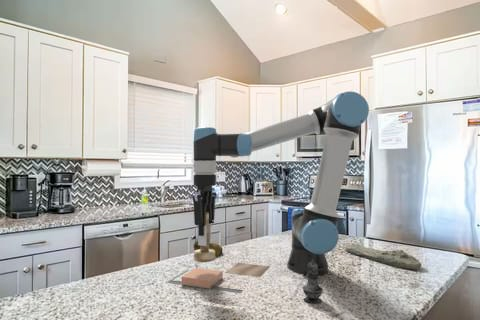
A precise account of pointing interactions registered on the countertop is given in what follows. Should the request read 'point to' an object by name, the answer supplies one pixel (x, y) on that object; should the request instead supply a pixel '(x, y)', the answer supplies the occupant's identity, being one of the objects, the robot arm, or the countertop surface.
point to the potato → (212, 246)
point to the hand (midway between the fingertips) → (204, 243)
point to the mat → (210, 288)
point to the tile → (202, 278)
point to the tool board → (248, 269)
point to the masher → (205, 248)
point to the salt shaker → (312, 285)
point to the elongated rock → (385, 256)
